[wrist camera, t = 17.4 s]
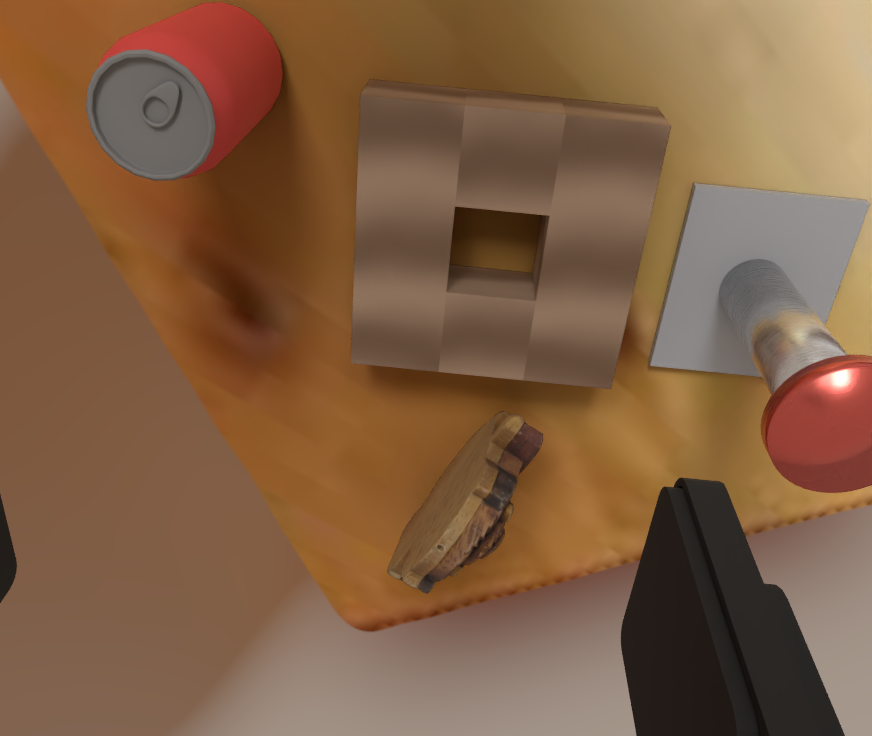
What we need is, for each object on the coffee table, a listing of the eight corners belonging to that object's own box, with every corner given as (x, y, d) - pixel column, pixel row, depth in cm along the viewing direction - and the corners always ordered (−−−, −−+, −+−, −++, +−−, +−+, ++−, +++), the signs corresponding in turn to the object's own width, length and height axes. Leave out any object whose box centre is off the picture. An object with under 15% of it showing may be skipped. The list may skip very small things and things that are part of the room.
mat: (693, 182, 47) (695, 186, 47) (865, 199, 47) (870, 203, 47) (648, 361, 53) (650, 365, 53) (801, 376, 53) (804, 381, 53)
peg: (711, 231, 48) (794, 361, 35) (826, 242, 48) (953, 376, 35) (684, 332, 52) (750, 485, 39) (791, 343, 52) (894, 499, 39)
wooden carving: (443, 551, 63) (436, 656, 54) (389, 529, 62) (373, 632, 54) (551, 392, 55) (563, 486, 47) (491, 364, 54) (492, 455, 46)
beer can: (309, 61, 45) (256, 114, 35) (240, 148, 48) (172, 221, 37) (211, -28, 43) (124, 0, 33) (144, 68, 46) (45, 121, 35)
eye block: (369, 79, 45) (360, 95, 42) (657, 107, 45) (671, 125, 42) (359, 332, 54) (350, 363, 50) (603, 356, 53) (610, 389, 50)
